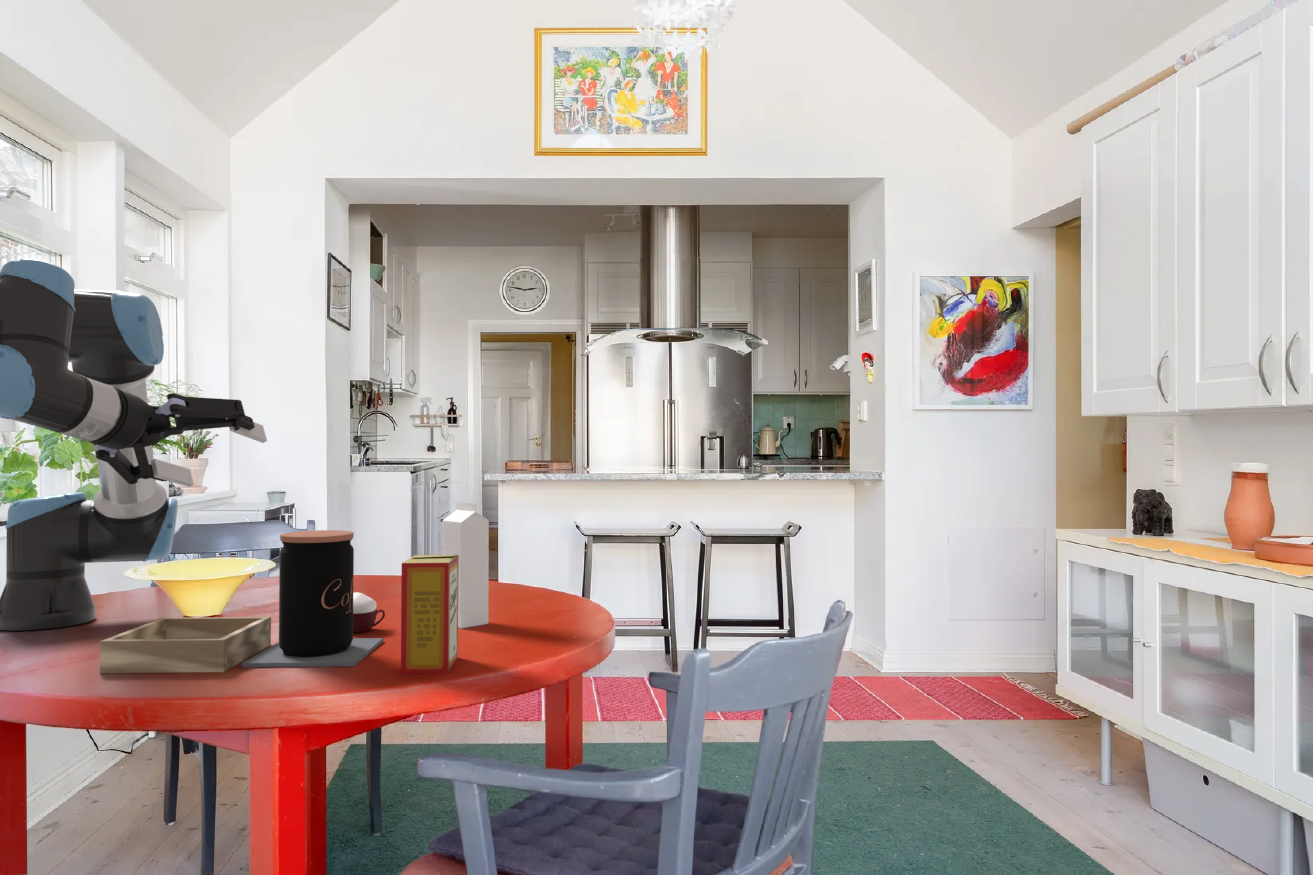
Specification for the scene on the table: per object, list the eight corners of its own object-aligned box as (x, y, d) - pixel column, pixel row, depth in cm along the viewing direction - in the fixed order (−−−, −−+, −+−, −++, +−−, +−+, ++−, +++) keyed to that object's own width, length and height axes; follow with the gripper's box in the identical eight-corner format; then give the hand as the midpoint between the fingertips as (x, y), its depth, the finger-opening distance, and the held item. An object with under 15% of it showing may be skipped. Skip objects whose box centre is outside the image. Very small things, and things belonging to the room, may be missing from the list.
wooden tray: (162, 645, 138) (162, 617, 138) (270, 644, 139) (271, 616, 139) (99, 673, 121) (100, 641, 121) (223, 671, 122) (223, 640, 122)
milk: (460, 629, 152) (461, 504, 152) (441, 624, 156) (441, 502, 156) (489, 623, 156) (489, 502, 156) (469, 619, 160) (469, 501, 160)
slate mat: (283, 642, 140) (283, 638, 140) (383, 641, 141) (383, 637, 141) (241, 667, 124) (241, 663, 124) (354, 666, 125) (354, 661, 125)
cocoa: (386, 629, 153) (390, 561, 154) (377, 635, 147) (381, 565, 148) (331, 627, 152) (336, 559, 153) (320, 633, 146) (324, 562, 147)
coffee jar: (328, 659, 126) (329, 537, 127) (263, 656, 129) (264, 535, 129) (366, 643, 137) (367, 530, 137) (305, 640, 139) (306, 529, 139)
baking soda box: (447, 673, 121) (448, 560, 122) (400, 674, 121) (401, 560, 121) (457, 657, 131) (458, 552, 131) (414, 658, 130) (414, 552, 131)
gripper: (28, 486, 109) (165, 517, 128) (184, 390, 106) (300, 436, 125) (20, 437, 112) (155, 474, 131) (172, 341, 108) (287, 395, 128)
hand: (226, 456), depth 128 cm, fingers open, 13 cm apart
